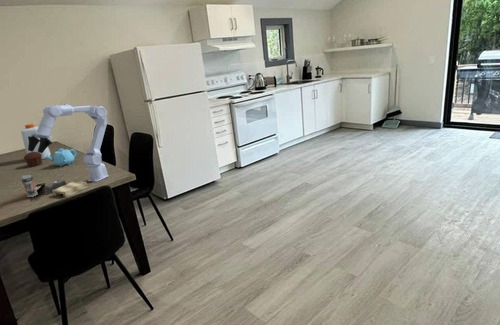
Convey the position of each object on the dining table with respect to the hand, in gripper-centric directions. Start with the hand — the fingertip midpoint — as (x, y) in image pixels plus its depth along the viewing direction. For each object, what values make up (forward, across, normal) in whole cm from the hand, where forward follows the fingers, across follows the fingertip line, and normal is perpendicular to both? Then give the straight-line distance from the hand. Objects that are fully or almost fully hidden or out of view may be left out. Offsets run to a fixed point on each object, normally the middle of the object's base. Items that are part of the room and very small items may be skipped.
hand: (35, 151), depth 161 cm
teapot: (-4, -52, +56) cm, 77 cm away
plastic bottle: (-8, -96, +67) cm, 117 cm away
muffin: (0, -79, +54) cm, 96 cm away
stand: (+14, +6, +23) cm, 28 cm away
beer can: (+22, -12, +16) cm, 30 cm away
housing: (+15, -6, +24) cm, 29 cm away
